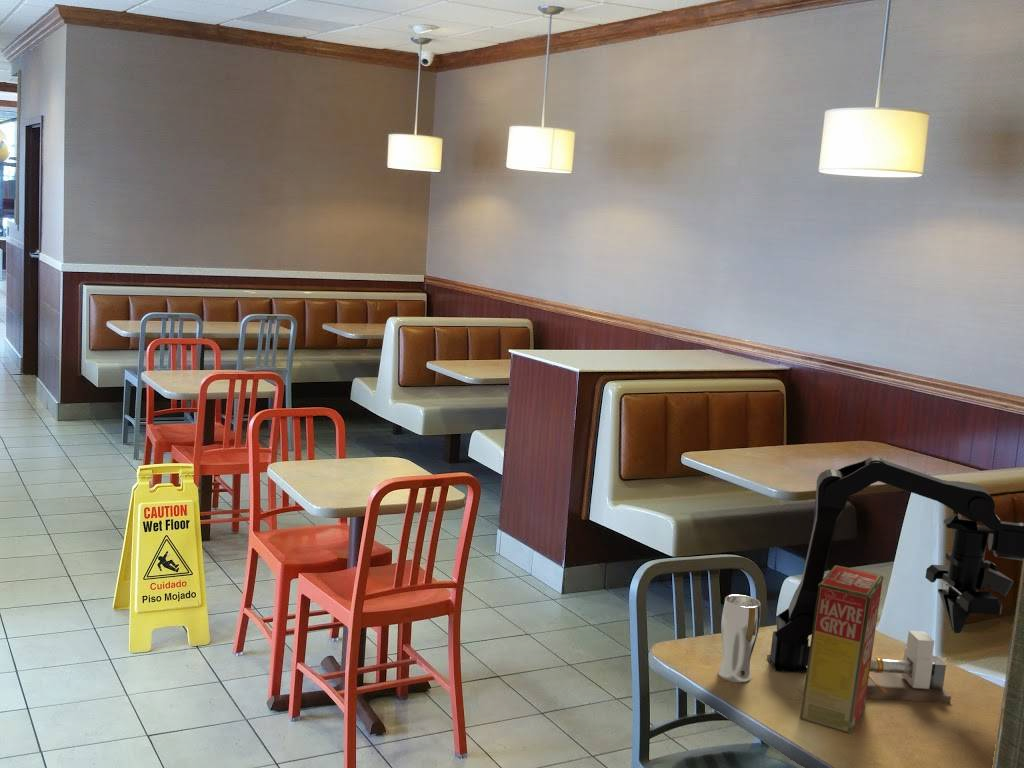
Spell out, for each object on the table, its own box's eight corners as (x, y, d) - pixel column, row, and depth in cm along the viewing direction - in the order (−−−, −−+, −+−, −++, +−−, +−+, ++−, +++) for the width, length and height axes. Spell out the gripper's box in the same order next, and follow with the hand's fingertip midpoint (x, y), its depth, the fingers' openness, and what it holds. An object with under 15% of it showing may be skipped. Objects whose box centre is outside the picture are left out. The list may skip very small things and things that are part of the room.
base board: (854, 697, 190) (855, 690, 190) (838, 675, 199) (839, 669, 199) (950, 702, 191) (951, 695, 190) (929, 680, 200) (930, 674, 199)
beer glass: (750, 669, 199) (759, 596, 196) (755, 685, 192) (764, 609, 189) (714, 666, 199) (722, 592, 197) (717, 681, 192) (726, 605, 190)
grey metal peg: (853, 685, 192) (856, 660, 191) (846, 675, 196) (849, 651, 195) (942, 690, 193) (946, 665, 192) (933, 680, 197) (936, 656, 196)
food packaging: (852, 735, 175) (871, 596, 171) (797, 719, 180) (814, 582, 176) (867, 705, 187) (885, 574, 183) (815, 691, 191) (831, 563, 187)
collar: (913, 687, 192) (919, 641, 190) (901, 674, 197) (907, 629, 196) (929, 688, 192) (935, 642, 190) (916, 675, 197) (922, 630, 196)
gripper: (1036, 572, 182) (1023, 655, 184) (985, 539, 200) (974, 615, 203) (975, 568, 181) (962, 651, 184) (929, 536, 200) (919, 612, 202)
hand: (955, 632), depth 193 cm, fingers closed
